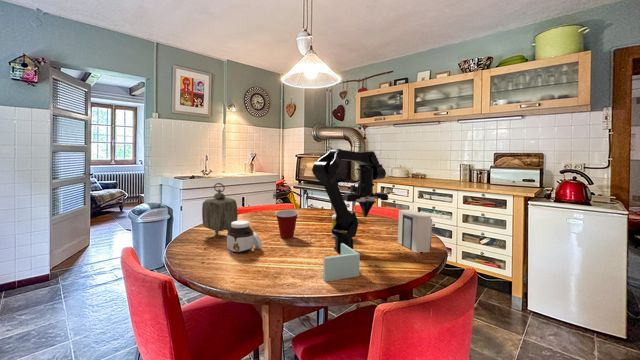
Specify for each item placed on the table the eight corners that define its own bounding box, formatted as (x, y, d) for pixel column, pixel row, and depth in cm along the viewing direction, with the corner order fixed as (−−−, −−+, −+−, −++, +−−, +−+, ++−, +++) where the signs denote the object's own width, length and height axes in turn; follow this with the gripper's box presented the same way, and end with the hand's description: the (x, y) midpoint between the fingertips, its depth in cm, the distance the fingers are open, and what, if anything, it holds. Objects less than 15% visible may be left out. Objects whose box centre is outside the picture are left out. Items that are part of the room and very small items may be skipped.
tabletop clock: (237, 236, 138) (237, 183, 136) (222, 241, 131) (221, 184, 128) (217, 232, 146) (216, 181, 144) (201, 236, 138) (199, 182, 136)
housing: (416, 253, 118) (417, 216, 117) (397, 242, 131) (398, 210, 130) (429, 251, 119) (430, 216, 118) (409, 241, 133) (410, 209, 132)
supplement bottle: (340, 239, 136) (341, 211, 135) (328, 236, 140) (329, 209, 139) (348, 236, 141) (348, 209, 140) (336, 233, 145) (337, 207, 144)
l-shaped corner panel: (342, 263, 106) (343, 243, 106) (359, 276, 95) (359, 253, 95) (311, 268, 102) (311, 246, 101) (324, 282, 91) (325, 258, 90)
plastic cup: (270, 239, 134) (270, 213, 133) (281, 233, 145) (280, 209, 143) (293, 241, 131) (293, 215, 130) (301, 235, 141) (302, 210, 140)
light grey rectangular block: (410, 249, 122) (411, 220, 121) (403, 245, 127) (404, 217, 126) (430, 247, 125) (432, 219, 124) (423, 243, 130) (424, 216, 129)
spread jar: (224, 251, 117) (223, 222, 116) (244, 244, 127) (243, 217, 126) (247, 257, 111) (247, 226, 110) (266, 248, 121) (266, 220, 120)
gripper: (377, 178, 137) (376, 212, 138) (339, 179, 132) (338, 214, 133) (389, 181, 126) (388, 217, 128) (348, 181, 121) (347, 219, 123)
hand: (365, 216), depth 128 cm, fingers closed
